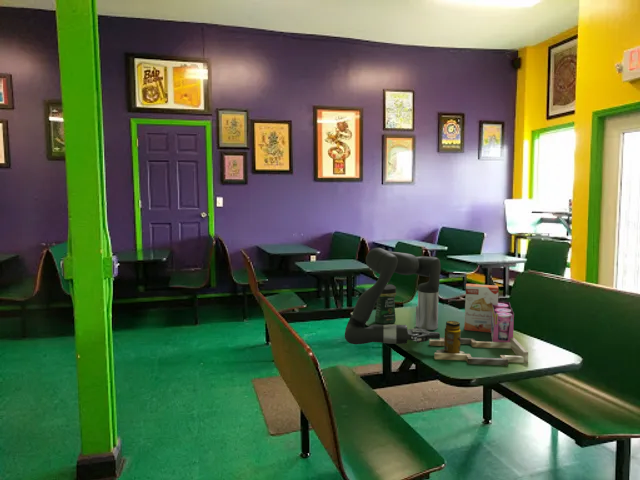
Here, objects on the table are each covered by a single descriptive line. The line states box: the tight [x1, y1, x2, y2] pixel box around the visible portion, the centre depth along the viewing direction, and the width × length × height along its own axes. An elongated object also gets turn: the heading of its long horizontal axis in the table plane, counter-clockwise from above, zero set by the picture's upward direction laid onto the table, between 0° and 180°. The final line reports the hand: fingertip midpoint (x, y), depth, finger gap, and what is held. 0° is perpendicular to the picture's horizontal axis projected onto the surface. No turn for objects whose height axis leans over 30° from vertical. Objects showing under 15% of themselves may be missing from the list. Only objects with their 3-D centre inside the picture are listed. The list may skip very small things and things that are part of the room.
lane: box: [428, 336, 529, 366], centre depth 175 cm, size 34×24×4 cm
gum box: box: [490, 301, 515, 342], centre depth 192 cm, size 24×8×14 cm, turn 162°
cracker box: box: [463, 283, 499, 333], centre depth 204 cm, size 14×6×21 cm, turn 71°
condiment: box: [436, 320, 466, 354], centre depth 176 cm, size 7×8×12 cm
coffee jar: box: [374, 284, 397, 325], centre depth 217 cm, size 10×8×19 cm
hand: (439, 335), depth 176 cm, fingers closed
